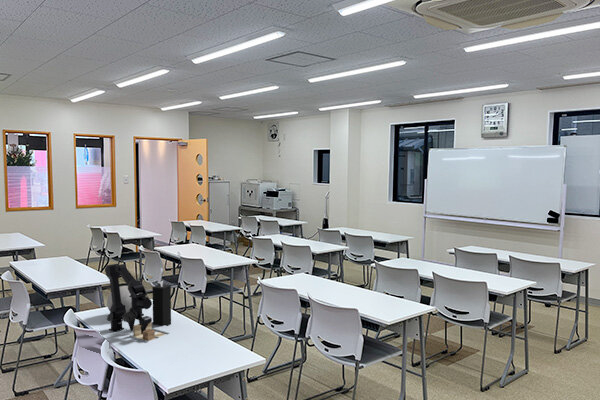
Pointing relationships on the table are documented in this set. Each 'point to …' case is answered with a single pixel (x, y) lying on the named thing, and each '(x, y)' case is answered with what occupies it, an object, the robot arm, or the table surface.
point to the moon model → (122, 298)
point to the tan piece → (138, 332)
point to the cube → (148, 334)
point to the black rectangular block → (162, 304)
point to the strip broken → (155, 331)
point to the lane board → (147, 341)
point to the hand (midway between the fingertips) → (137, 332)
